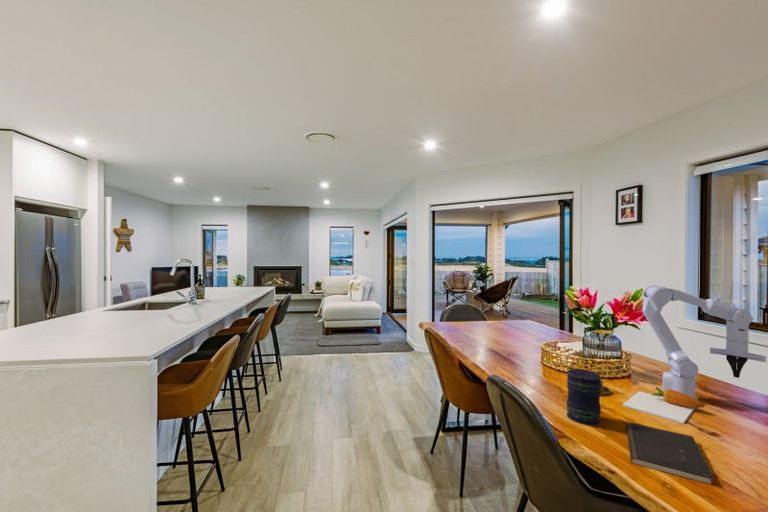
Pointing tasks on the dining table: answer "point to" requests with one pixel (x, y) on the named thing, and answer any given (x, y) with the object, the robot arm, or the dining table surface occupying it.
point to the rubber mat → (658, 407)
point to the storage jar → (583, 396)
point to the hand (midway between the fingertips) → (736, 376)
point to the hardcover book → (667, 452)
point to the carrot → (678, 398)
